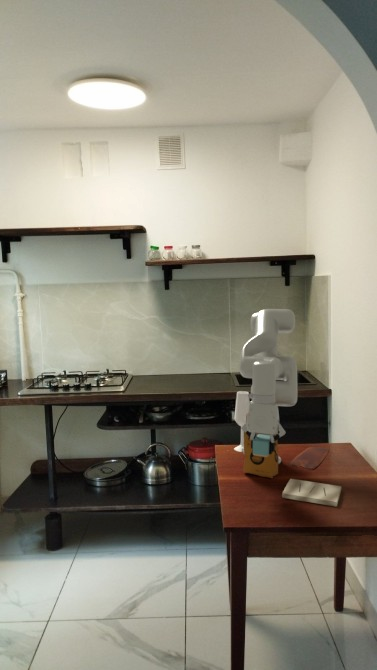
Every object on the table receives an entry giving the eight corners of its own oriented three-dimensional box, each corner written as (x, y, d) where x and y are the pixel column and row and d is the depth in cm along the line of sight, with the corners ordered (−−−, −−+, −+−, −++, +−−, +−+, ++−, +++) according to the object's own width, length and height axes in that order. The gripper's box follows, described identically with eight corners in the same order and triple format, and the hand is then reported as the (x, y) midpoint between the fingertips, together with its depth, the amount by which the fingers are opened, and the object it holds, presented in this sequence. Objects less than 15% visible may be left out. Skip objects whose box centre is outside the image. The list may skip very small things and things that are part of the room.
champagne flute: (250, 446, 213) (251, 390, 210) (250, 452, 206) (250, 394, 203) (234, 446, 213) (235, 390, 211) (233, 451, 207) (234, 393, 204)
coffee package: (272, 481, 176) (273, 419, 174) (239, 474, 182) (240, 415, 180) (282, 472, 184) (283, 413, 182) (250, 466, 191) (251, 409, 188)
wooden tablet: (314, 471, 187) (314, 467, 186) (288, 466, 192) (288, 462, 191) (333, 451, 209) (333, 447, 209) (309, 446, 214) (309, 443, 214)
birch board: (282, 497, 163) (282, 493, 163) (290, 482, 175) (290, 478, 175) (336, 506, 156) (336, 501, 156) (341, 490, 168) (341, 486, 168)
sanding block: (252, 455, 166) (252, 440, 165) (258, 448, 172) (258, 434, 172) (267, 457, 164) (267, 442, 163) (272, 450, 170) (272, 435, 170)
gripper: (235, 398, 165) (234, 452, 168) (287, 403, 159) (285, 459, 161) (242, 393, 172) (241, 444, 175) (291, 398, 166) (290, 451, 168)
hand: (262, 451), depth 168 cm, fingers closed on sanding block, 5 cm apart
